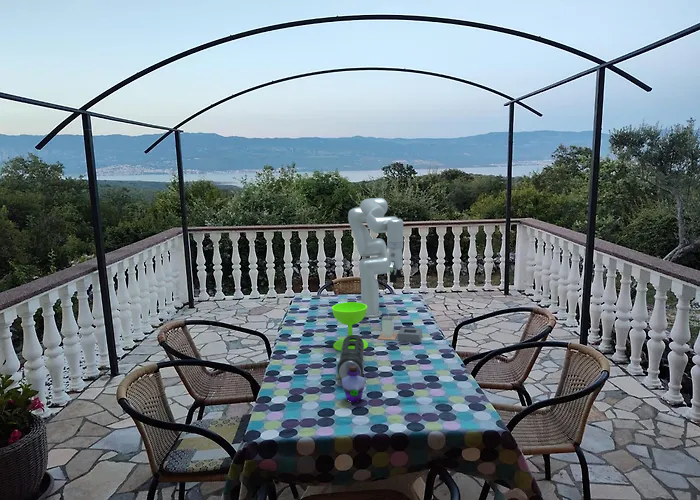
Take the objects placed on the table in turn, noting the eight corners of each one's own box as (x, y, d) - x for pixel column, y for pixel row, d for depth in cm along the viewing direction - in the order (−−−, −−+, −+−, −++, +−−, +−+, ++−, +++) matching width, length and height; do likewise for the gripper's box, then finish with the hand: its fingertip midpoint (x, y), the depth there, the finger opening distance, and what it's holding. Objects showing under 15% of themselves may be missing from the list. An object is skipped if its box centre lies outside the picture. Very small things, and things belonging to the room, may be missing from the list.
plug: (382, 336, 223) (381, 318, 222) (383, 334, 227) (383, 315, 226) (392, 337, 222) (392, 318, 221) (394, 334, 226) (393, 316, 224)
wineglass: (375, 344, 216) (374, 305, 213) (351, 354, 204) (350, 314, 201) (349, 336, 226) (348, 300, 224) (325, 346, 215) (324, 308, 212)
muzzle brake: (364, 357, 201) (364, 334, 199) (363, 386, 173) (362, 359, 172) (342, 357, 202) (341, 334, 200) (337, 386, 174) (336, 360, 172)
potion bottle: (347, 407, 158) (346, 373, 156) (337, 396, 166) (336, 364, 164) (370, 401, 161) (369, 368, 160) (360, 391, 169) (359, 359, 167)
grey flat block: (397, 340, 219) (397, 333, 218) (401, 334, 227) (401, 327, 227) (419, 342, 216) (419, 334, 216) (422, 335, 225) (422, 328, 224)
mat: (377, 339, 221) (377, 338, 221) (381, 333, 230) (381, 332, 230) (394, 340, 219) (394, 339, 219) (398, 334, 228) (398, 333, 228)
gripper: (399, 248, 215) (399, 285, 218) (406, 242, 231) (406, 276, 234) (383, 248, 217) (383, 284, 220) (391, 241, 233) (391, 275, 236)
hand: (395, 280), depth 227 cm, fingers open, 9 cm apart
